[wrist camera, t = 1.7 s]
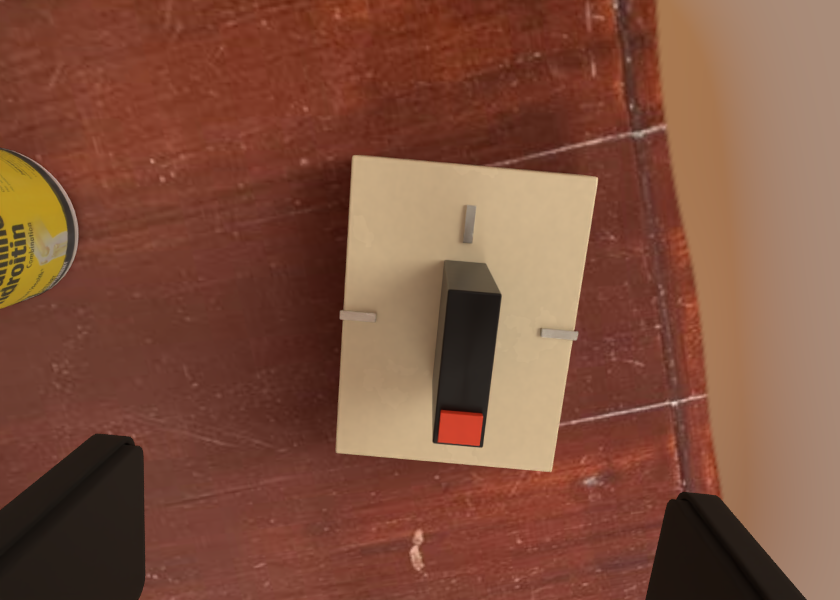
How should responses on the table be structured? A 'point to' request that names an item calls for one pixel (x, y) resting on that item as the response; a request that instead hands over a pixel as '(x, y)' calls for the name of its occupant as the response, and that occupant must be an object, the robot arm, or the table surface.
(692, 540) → the robot arm
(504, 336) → the panel
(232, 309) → the table surface
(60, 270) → the pill bottle
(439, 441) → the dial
